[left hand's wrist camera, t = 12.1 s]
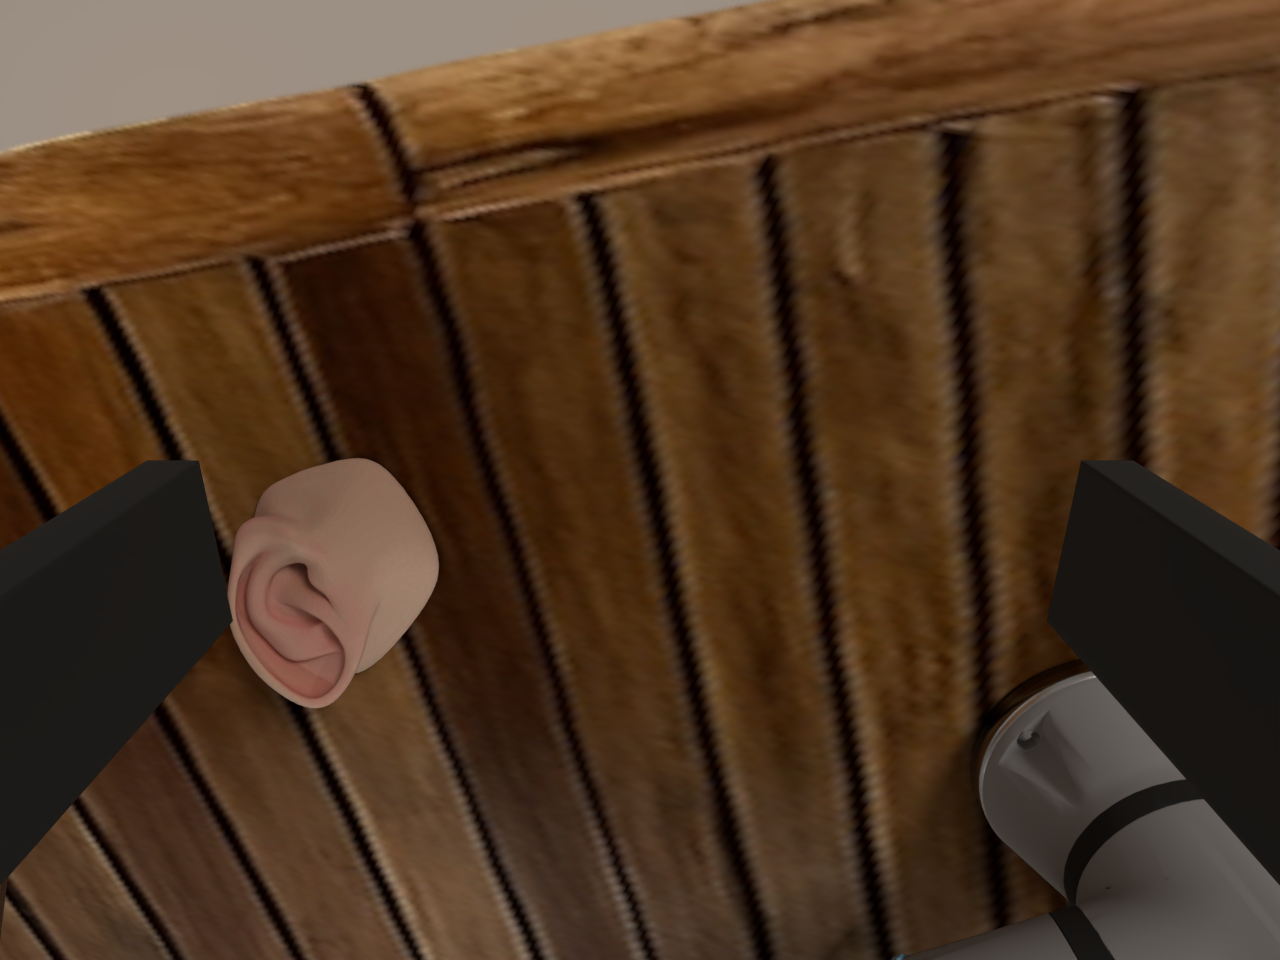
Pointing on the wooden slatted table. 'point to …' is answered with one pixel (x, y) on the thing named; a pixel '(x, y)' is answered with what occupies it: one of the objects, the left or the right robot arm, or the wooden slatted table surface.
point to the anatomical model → (328, 577)
